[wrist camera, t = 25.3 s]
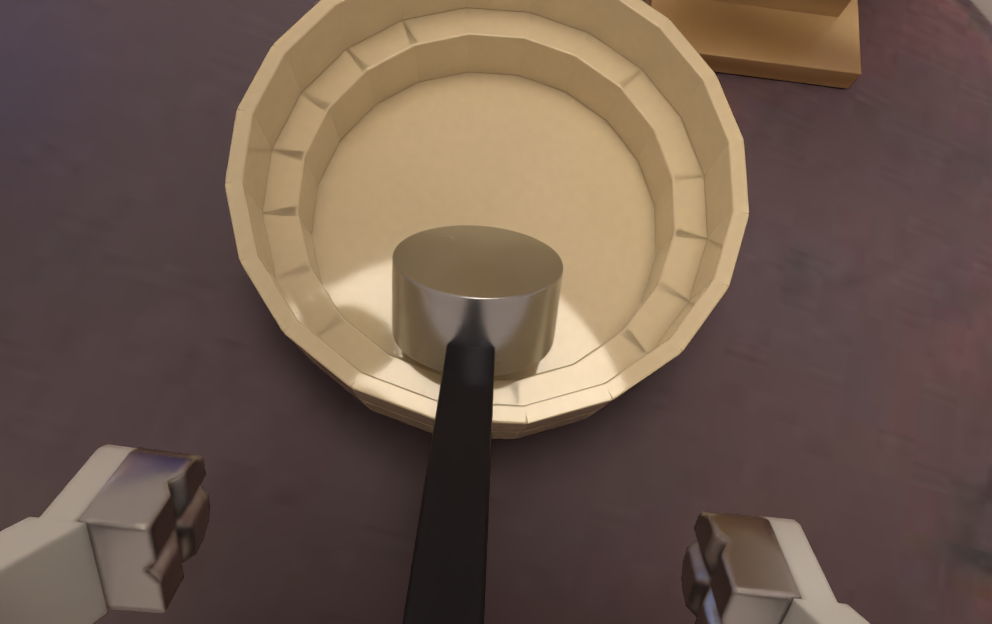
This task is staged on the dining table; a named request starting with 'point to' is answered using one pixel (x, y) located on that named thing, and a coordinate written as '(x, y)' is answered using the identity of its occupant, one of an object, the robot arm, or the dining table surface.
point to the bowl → (489, 185)
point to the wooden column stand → (773, 37)
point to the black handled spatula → (466, 389)
